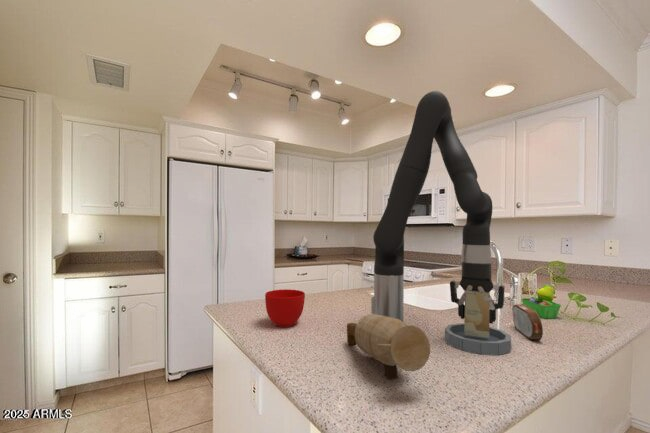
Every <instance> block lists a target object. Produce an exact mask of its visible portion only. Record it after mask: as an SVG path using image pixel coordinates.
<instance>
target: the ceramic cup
mask: <svg viewBox="0 0 650 433" xmlns="http://www.w3.org/2000/svg"><path fill="white" fill-rule="evenodd" d="M305 294H306V293H305V291H303V290H298V289H287V288H285V289H273V290H269V291H267V292H265V294H264V299H265V302H264V303H265V308H266V314H267V316H268V318H269V319H270V321H271V322H272V323H273V325H274V326H276V327H279V328H289V327H292V326H295V325H296V323H297V322H298V320H299V319H300V317H302V314H303V310H304V307H305V298H306V295H305Z"/></svg>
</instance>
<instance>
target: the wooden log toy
mask: <svg viewBox="0 0 650 433" xmlns="http://www.w3.org/2000/svg"><path fill="white" fill-rule="evenodd" d="M346 338H347V339H346V340H347V345H348V346H355V345H356V346H357V347H358V348H359V350H361V351H362V352H363V353H365V354H366V355H368V356H369V357H370V360H371V361H375V360H376V361H379V362H380V363H381V364H383V374H384V377H385V378H387V379H388V380H389V379H397V378H398V367H399V368H400V369H401V370H404V371H405V372H416V371H419V370H421V369H422V368H423V367H425V365H426V363H427V362H428V360H429V359H430V358H429V357H430V354H431V344H430V341H429V337H428V336H427V335H426V334H425V332H424V331H423V330H422V329H421V328H419V327H417V326H415V325H407V323H406V322H404V321H403V322H402V321H401V320H399V319H395V318H391V317H386V316H381V315H377V314H371V313H370V314H366V315H364V316H363V317H361V318H360V319H359V320H358V322H357V323H355V322H349V323H347V324H346Z"/></svg>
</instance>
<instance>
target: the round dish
mask: <svg viewBox="0 0 650 433" xmlns="http://www.w3.org/2000/svg"><path fill="white" fill-rule="evenodd" d="M444 340H445V341H446V342H447V344H448V345H449V346H451V347H454V348H456V349H458V350H460V351H463V352H467V353H473V354H477V355H483V356H484V355H485V356H487V355H488V356H501V355H505V354H506V355H507V354H510V353H511V350H512V335H510V333H507V332H506V331H505V330H502V329H499V328H495V327H492V326H489V338H486V337H479V336H472V335H466V334H465V333H464V322H462V323H461V322H458V323H457V322H456V323H453V324H452V323H451V324H448V325H447V326H446V327H444Z"/></svg>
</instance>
